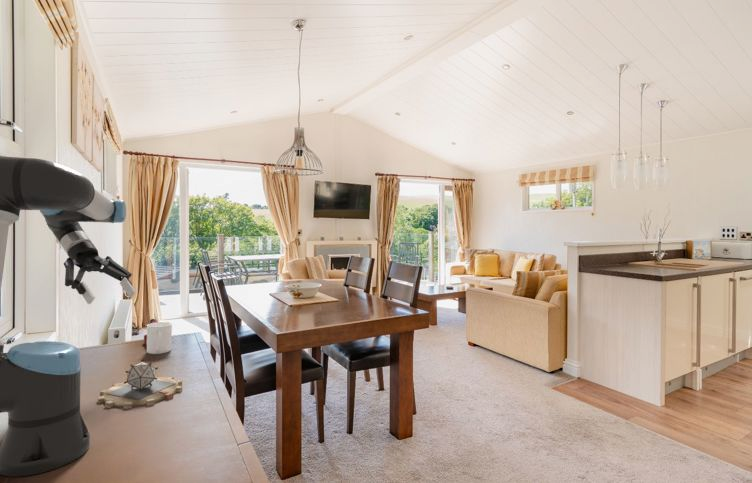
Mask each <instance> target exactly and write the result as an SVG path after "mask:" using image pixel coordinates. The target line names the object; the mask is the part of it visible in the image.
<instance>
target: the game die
mask: <svg viewBox="0 0 752 483" xmlns="http://www.w3.org/2000/svg"><path fill="white" fill-rule="evenodd" d="M152 364H153V363H152V362H149V363H148V362H145V361H144V359H143V358H142V359H141V360H140V362H138V363H136V364H135V365H134V364H130V369H129V370H126V371H124V372H125V373H126V375H127V377H126V381H123V382H122V383H123V384H125V383H128V384H130V385H132V387H131V388H133V387H136V388H138V389H140V392H141V391H142V390H141V389H143V388H144V387H146V386H148V385H149V384H150V386H152V384H151V383H152V381H153V380H154V379H155V380H157V378H155V376H156V370H158V369H159V367H154V366H153V365H152Z"/></svg>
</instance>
